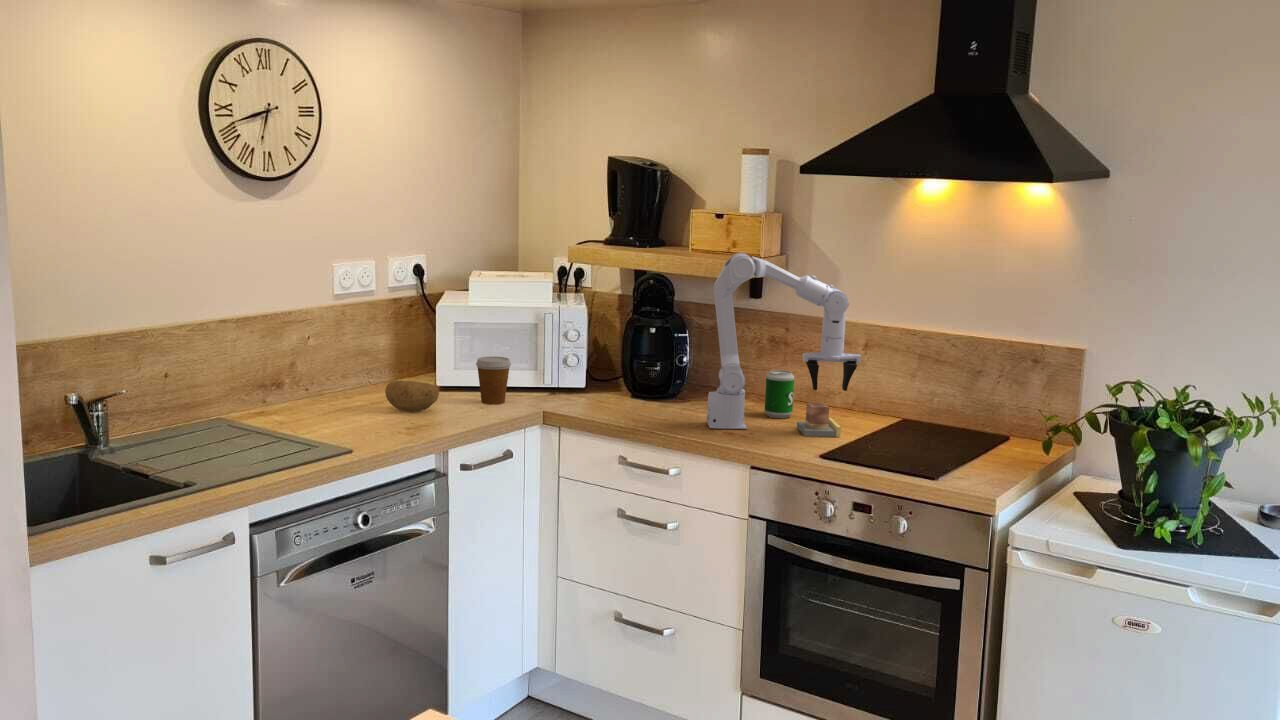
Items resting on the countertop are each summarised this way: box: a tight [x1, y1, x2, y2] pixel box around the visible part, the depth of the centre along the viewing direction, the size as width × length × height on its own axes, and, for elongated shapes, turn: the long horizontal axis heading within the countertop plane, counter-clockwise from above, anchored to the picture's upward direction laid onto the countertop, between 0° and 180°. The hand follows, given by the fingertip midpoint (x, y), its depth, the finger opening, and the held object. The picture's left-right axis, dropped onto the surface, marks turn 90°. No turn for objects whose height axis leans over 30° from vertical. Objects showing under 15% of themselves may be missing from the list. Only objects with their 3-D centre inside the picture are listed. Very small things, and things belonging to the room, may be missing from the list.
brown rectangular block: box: [804, 401, 830, 430], centre depth 284 cm, size 4×6×6 cm
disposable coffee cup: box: [475, 356, 512, 405], centre depth 306 cm, size 10×10×12 cm
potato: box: [384, 380, 440, 413], centre depth 293 cm, size 10×14×8 cm
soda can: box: [764, 369, 795, 419], centre depth 301 cm, size 8×8×12 cm
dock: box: [796, 417, 842, 438], centre depth 285 cm, size 9×10×3 cm
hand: (829, 389), depth 286 cm, fingers open, 7 cm apart
